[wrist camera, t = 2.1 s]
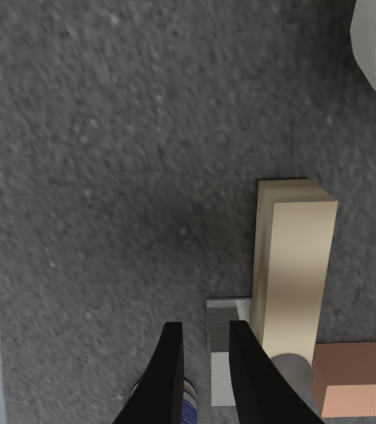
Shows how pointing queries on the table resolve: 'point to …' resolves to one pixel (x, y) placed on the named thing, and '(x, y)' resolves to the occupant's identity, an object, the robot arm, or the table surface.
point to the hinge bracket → (222, 344)
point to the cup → (365, 38)
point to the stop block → (344, 379)
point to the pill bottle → (187, 404)
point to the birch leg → (291, 272)
